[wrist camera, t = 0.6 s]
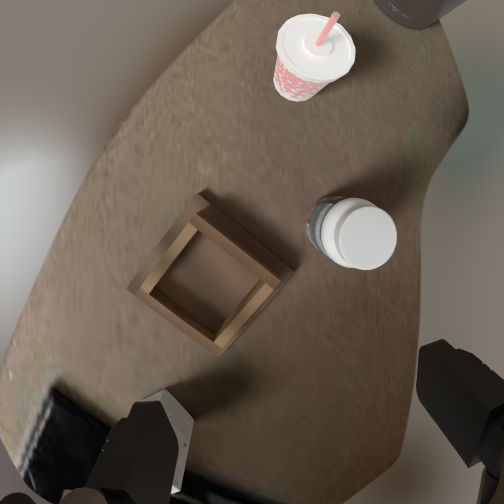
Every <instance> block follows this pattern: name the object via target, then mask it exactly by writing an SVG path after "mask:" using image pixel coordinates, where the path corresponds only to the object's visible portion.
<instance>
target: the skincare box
mask: <svg viewBox="0 0 504 504" xmlns="http://www.w3.org/2000/svg"><path fill="white" fill-rule="evenodd" d="M157 400H158V401H160V402H161V404H162V405H163V407H164V410H165V412H166V414H167V416H168V419H169V421H170V423H171V425H172V427H173V429H174V431H175V434H176V436H177V439H178V445H179V454H178V459H177V464H176V469H175V474H174V479H173V485H172V490H171V494H172V493H175V492H178V491H180V490H181V484H182V479H183V474H184V469H185V464H186V458H187V453H188V448H189V443H190V438H191V433H192V428H193V423H194V420H193V418H192V417H191V416H190V414H189V413H188V412H187V411H186V410H185V409H184V408H183V406H182V405H181V404H180V403H179V402H178V401H177V400H176V399H175V398H174V397H173V396H172V395H171V394H170V393H169V392H168V391H167V390H166V389H163V390H161V391H159V392H157V393H155V394H153V395H151V396H149V397H147V398H145V399H143V400H141V401H140V402H142V401H157Z"/></svg>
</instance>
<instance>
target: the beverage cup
mask: <svg viewBox="0 0 504 504" xmlns="http://www.w3.org/2000/svg"><path fill="white" fill-rule="evenodd" d="M339 17H340V14H339V13H338V12H333V14H332V15H331V17H330V18H328V17H324V16H320V15H316V14H304V15H298V16H296V17H293V18H291V19H289V20H287V21H286V22H285V24H284V25H283V26H282V27H281V29H280V30H279V32H278V38H277V44H276V49H277V53H278V56H277V62H276V68H275V74H274V80H273V81H274V84H275V88H276V89H277V91H278V92H279V93H280V94H281V95H282V96H283V97H285V98H287V99H288V100H293V101H304V100H307V99H309V98H311V97H312V96H314V95H315V94H316V93H317V92H319V91H320V90H321V89H322V88H324V87H325V86H326V85H327V84H329V83H330V82H333V81H335V80H337V79H338V78H340V77H342V76H344V75H345V74H346V73H347V72H348V71H349V70H350V68H351V66H352V65H353V63H354V62H355V47H354V44H353V41H352V38H351V36H350V35H349V34H348V33H347V31H346V30H345V29H344V28H343V27H342V26H341V25H340V24H338V23H337V22H336V21H337V20H338V18H339Z"/></svg>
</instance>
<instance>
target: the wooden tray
mask: <svg viewBox="0 0 504 504" xmlns="http://www.w3.org/2000/svg"><path fill="white" fill-rule="evenodd" d="M294 273H295V272H294V270H293V269H292V268H290V267H289V266H288V265H287V264H285V263H284V262H283V261H282V260H281V259H279V258H278V257H277V256H276V255H274V254H273V253H272V252H271V251H270V250H268V249H267V248H266V247H265V246H263V245H262V244H261V243H260V242H258V241H257V240H256V239H255V238H254V237H252V236H251V235H250V234H249V233H247V232H246V231H245V230H244V229H242V228H241V227H240V226H239V225H237V224H236V223H235V222H234V221H233V220H231V219H230V218H229V217H228V216H226V215H225V214H224V213H223V212H221V211H220V210H219V209H218V208H216V207H215V206H214V205H213V204H211V203H210V202H209V201H208V200H206V199H205V198H204V197H203V196H201V195H200V194H199V193H197V194H196V196H195V197H194V198H193V199H192V201H191V202H190V203H189V204H188V206H187V207H186V208H185V210H184V211H183V212H182V213H181V215H180V216H179V217H178V219H177V220H176V221H175V222H174V224H173V225H172V226H171V228H170V229H169V230H168V232H167V233H166V234H165V236H164V237H163V238H162V240H161V241H160V242H159V244H158V245H157V247H156V248H155V249H154V251H153V252H152V253H151V255H150V256H149V257H148V259H147V260H146V262H145V263H144V264H143V266H142V267H141V269H140V270H139V271H138V273H137V274H136V276H135V277H134V279H133V280H132V281H131V283H130V284H129V286H128V287H127V289H128V290H129V291H130V292H131V293H132V294H134V295H135V296H136V297H137V298H139V299H140V300H141V301H142V302H144V303H145V304H146V305H148V306H149V307H150V308H151V309H153V310H154V311H155V312H157V313H158V314H159V315H161V316H162V317H163V318H165V319H166V320H167V321H169V322H170V323H171V324H173V325H174V326H175V327H177V328H178V329H179V330H181V331H182V332H184V333H185V334H186V335H188V336H189V337H191V338H192V339H193V340H195V341H196V342H198V343H199V344H200V345H202V346H203V347H205V348H206V349H208V350H209V351H210V352H212V353H213V354H215V355H216V356H218V357H220V356H221V355H222V354H223V353H224V352H225V350H226V349H227V348H228V347H229V346H230V345H231V344H232V343H233V342H234V341H235V339H236V338H237V337H238V336H239V335H240V334H241V333H242V332H243V331H244V330H245V328H246V327H247V326H248V325H249V324H250V323H251V322H252V321H253V319H254V318H255V317H256V316H257V315H258V314H259V313H260V312H261V310H262V309H263V308H264V307H265V306H266V305H267V304H268V303H269V301H270V300H271V299H272V298H273V297H274V296H275V295H276V293H277V292H278V291H279V290H280V289H281V288H282V286H283V285H284V284H285V283H286V282H287V281H288V280H289V278H290V277H291V276H292V275H293V274H294Z"/></svg>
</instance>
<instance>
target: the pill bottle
mask: <svg viewBox="0 0 504 504" xmlns="http://www.w3.org/2000/svg"><path fill="white" fill-rule="evenodd" d="M305 229H306V234H307V236H308V238H309V240H310V242H311V243H312V244H313V245H314V246H315V247H316V248H317V249H318V250H320V251H321V252H322V253H324V254H325V255H326V256H328V257H329V258H330V259H331V260H333V261H334V262H336V263H338V264H339V265H342V266H344V267H349V268H358V269H362V270H371V269H375V268H377V267H379V266H381V265H383V264H384V263H385V262H386V261H387V260H388V259H389V258H390V256H391V255H392V253H393V251H394V249H395V246H396V241H397V232H396V227H395V224H394V222H393V220H392V218H391V217H390V216H389V215H388V214H387V213H386V212H385V211H384V210H382V209H380V208H378V207H376V206H375V205H374V204H372V203H371V202H369V201H367V200H364V199H361V198H354V197H343V196H328V197H324V198H322V199H320V200H318V201H317V202H315V203H314V204H313V205H312V207H311V208H310V209H309V211H308V213H307V216H306V221H305Z"/></svg>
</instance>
